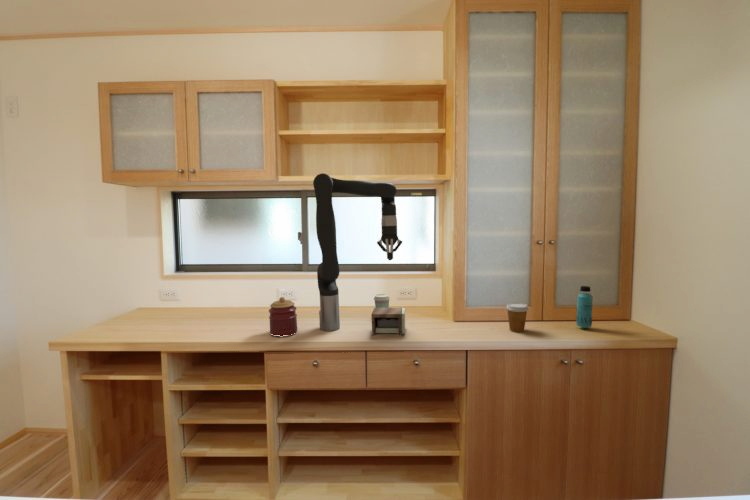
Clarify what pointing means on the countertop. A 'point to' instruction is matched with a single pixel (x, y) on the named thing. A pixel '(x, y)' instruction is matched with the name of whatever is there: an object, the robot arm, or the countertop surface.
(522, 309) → the disposable coffee cup
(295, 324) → the canister
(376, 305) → the coffee cup
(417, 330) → the countertop surface
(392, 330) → the pullout shelf
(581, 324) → the beverage bottle
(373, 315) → the small wooden cabinet
